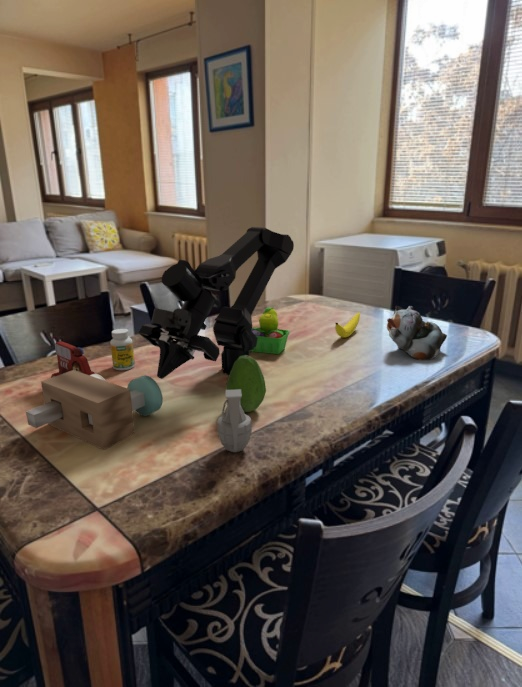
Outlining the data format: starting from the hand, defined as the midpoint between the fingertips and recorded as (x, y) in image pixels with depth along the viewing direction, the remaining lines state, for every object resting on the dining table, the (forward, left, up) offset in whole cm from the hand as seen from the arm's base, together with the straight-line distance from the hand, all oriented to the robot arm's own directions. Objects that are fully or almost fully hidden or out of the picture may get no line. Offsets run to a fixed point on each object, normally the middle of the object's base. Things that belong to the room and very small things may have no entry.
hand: (159, 377), depth 101 cm
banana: (-42, -52, -7) cm, 67 cm away
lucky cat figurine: (-59, -38, -7) cm, 70 cm away
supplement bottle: (+16, -22, -7) cm, 28 cm away
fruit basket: (-19, -38, -7) cm, 43 cm away
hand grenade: (-18, +16, -7) cm, 25 cm away
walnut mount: (+12, +11, -7) cm, 17 cm away
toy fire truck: (+22, -8, -7) cm, 25 cm away
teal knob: (+5, +8, -6) cm, 12 cm away
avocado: (-18, 0, -7) cm, 19 cm away
